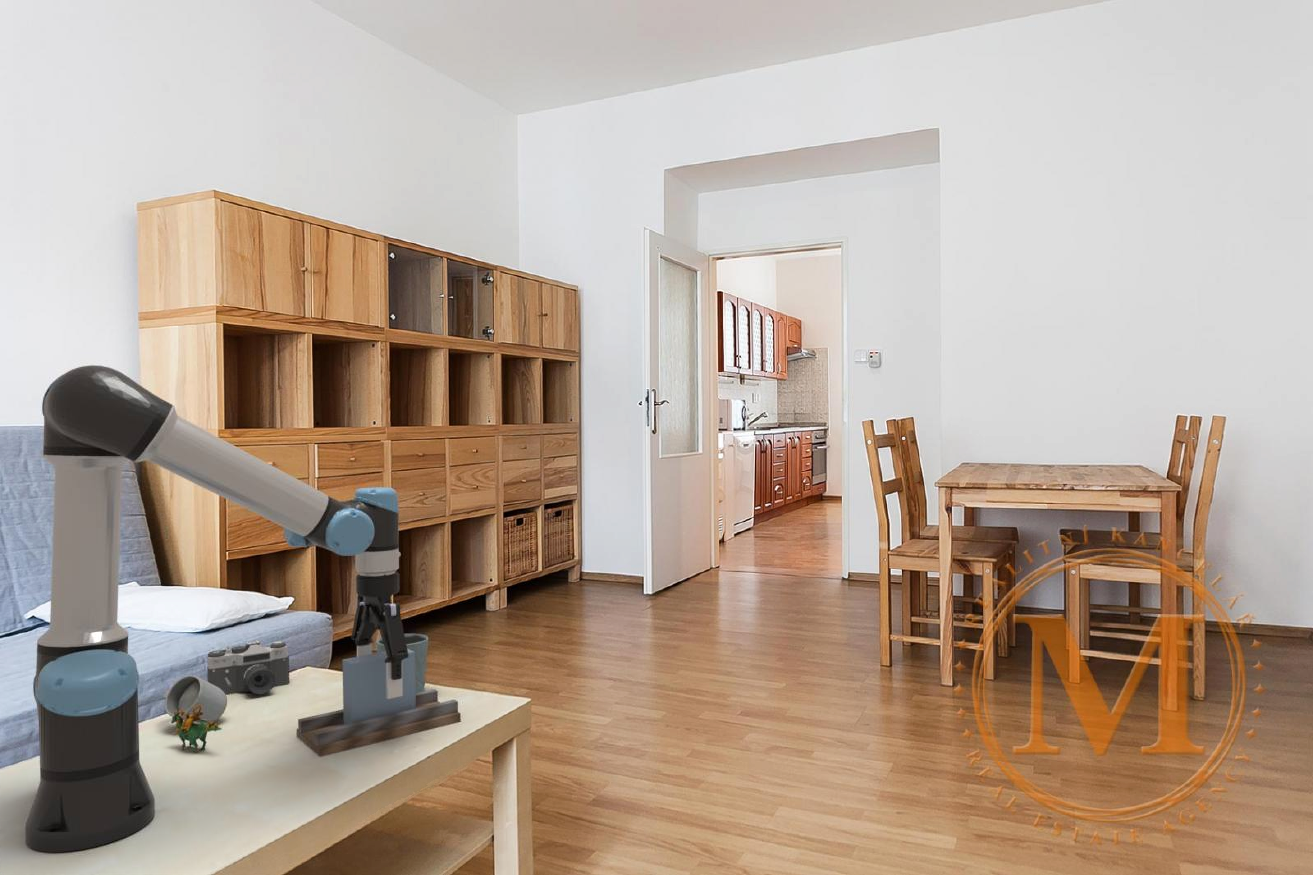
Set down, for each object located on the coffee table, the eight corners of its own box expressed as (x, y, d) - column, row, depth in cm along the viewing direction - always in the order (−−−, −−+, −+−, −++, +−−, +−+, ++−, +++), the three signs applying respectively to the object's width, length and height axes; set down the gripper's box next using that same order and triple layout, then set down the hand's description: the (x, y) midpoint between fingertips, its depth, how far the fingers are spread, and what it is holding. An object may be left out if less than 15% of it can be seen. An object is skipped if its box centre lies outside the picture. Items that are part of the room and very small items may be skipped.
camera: (214, 707, 173) (212, 657, 173) (206, 695, 181) (205, 647, 181) (297, 693, 182) (296, 645, 182) (286, 681, 190) (285, 635, 190)
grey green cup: (368, 704, 174) (367, 644, 174) (390, 688, 184) (390, 632, 184) (416, 706, 173) (415, 645, 172) (436, 690, 183) (435, 633, 182)
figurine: (180, 743, 154) (179, 697, 153) (229, 753, 149) (228, 706, 149) (164, 750, 151) (163, 703, 151) (214, 760, 146) (213, 711, 146)
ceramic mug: (210, 735, 162) (238, 699, 164) (177, 724, 156) (207, 687, 158) (182, 705, 168) (209, 671, 170) (148, 694, 161) (178, 658, 163)
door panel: (351, 731, 154) (350, 664, 154) (343, 725, 158) (342, 659, 157) (415, 716, 162) (414, 652, 162) (406, 711, 165) (405, 647, 165)
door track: (319, 756, 147) (319, 736, 147) (296, 737, 156) (296, 717, 156) (460, 721, 164) (460, 702, 164) (432, 705, 173) (431, 688, 173)
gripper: (427, 579, 152) (428, 700, 152) (371, 562, 171) (372, 669, 172) (385, 584, 147) (386, 709, 148) (332, 566, 166) (334, 677, 167)
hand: (379, 688), depth 160 cm, fingers open, 13 cm apart
